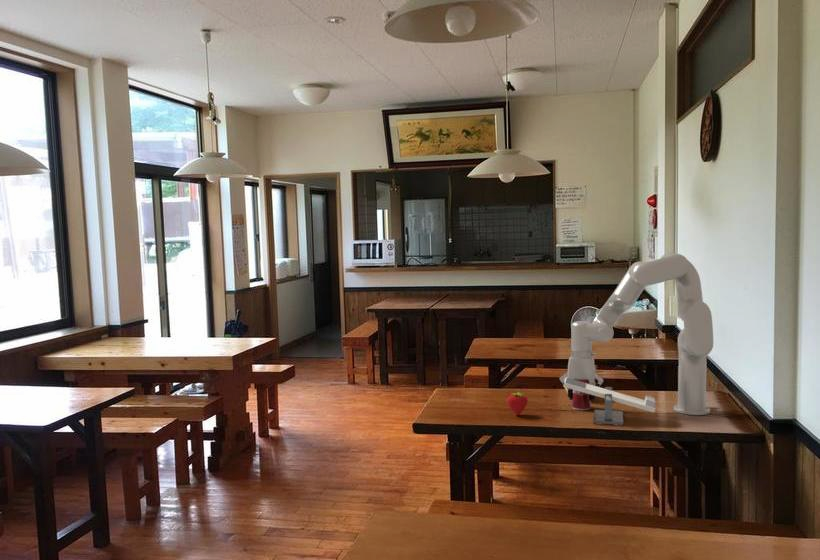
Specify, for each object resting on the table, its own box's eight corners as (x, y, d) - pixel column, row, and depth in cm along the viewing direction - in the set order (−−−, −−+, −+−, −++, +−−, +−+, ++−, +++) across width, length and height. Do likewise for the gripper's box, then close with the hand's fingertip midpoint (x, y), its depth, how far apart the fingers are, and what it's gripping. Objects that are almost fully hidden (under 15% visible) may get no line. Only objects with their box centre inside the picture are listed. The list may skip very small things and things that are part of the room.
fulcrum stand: (622, 414, 248) (622, 386, 247) (623, 425, 235) (623, 396, 234) (594, 412, 251) (594, 385, 250) (593, 423, 238) (593, 394, 237)
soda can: (591, 411, 254) (591, 379, 253) (571, 410, 255) (571, 379, 254) (590, 405, 261) (590, 375, 260) (571, 405, 262) (571, 374, 261)
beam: (653, 406, 242) (655, 397, 241) (654, 412, 234) (657, 403, 234) (564, 381, 250) (566, 372, 250) (563, 386, 243) (565, 377, 242)
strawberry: (507, 412, 254) (507, 386, 253) (527, 413, 252) (527, 386, 252) (506, 417, 248) (506, 390, 247) (527, 417, 247) (527, 390, 246)
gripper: (605, 352, 257) (605, 398, 259) (558, 351, 262) (558, 396, 264) (605, 356, 250) (604, 403, 252) (557, 354, 255) (557, 400, 257)
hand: (581, 399), depth 258 cm, fingers closed on soda can, 7 cm apart
